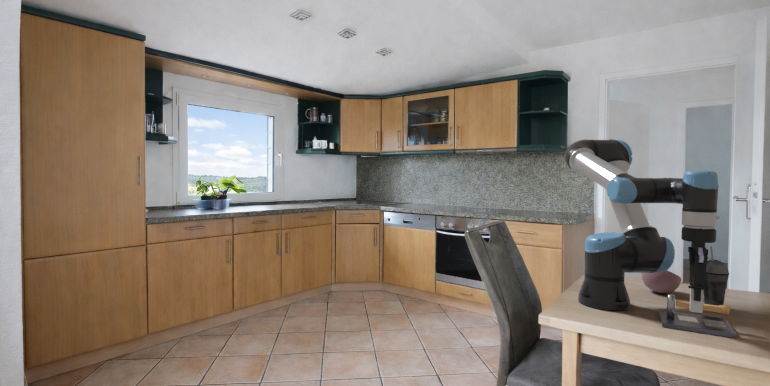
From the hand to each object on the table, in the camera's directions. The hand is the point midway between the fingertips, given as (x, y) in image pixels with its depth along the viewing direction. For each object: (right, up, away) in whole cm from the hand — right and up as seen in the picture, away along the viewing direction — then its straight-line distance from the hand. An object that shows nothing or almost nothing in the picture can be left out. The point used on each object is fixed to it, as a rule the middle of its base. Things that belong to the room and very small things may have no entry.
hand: (695, 311), depth 111 cm
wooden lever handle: (+3, 0, +2) cm, 4 cm away
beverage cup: (+20, -4, +18) cm, 27 cm away
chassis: (+2, -5, +3) cm, 6 cm away
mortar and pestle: (+15, -4, +35) cm, 38 cm away
